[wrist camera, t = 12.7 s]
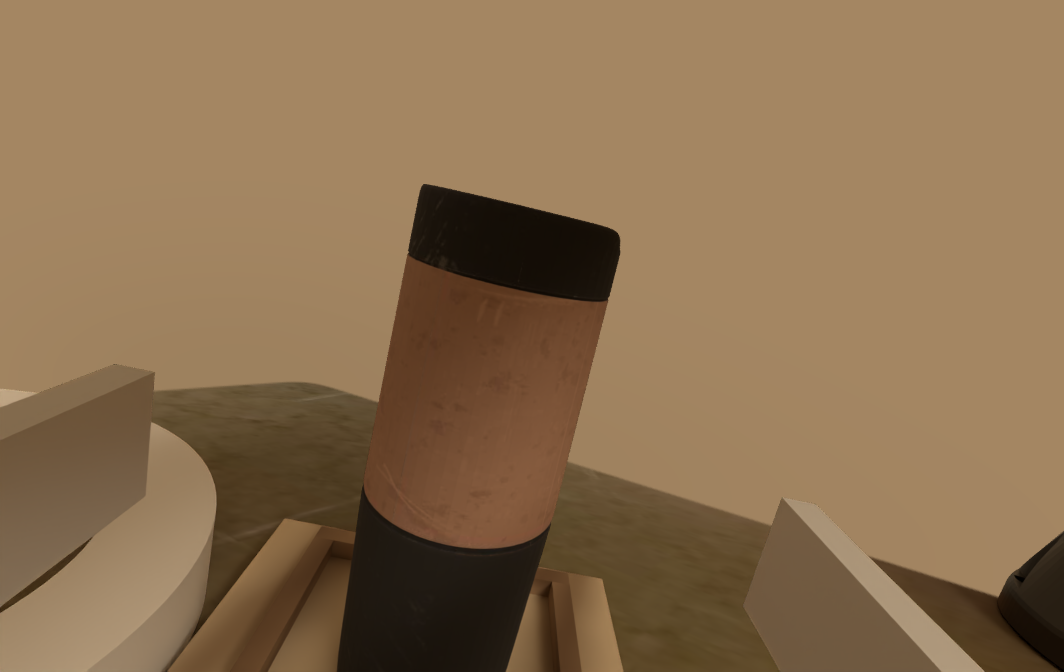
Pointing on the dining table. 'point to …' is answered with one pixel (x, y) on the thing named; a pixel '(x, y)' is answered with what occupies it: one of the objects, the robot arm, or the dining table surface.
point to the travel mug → (472, 431)
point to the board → (319, 601)
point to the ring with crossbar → (124, 578)
